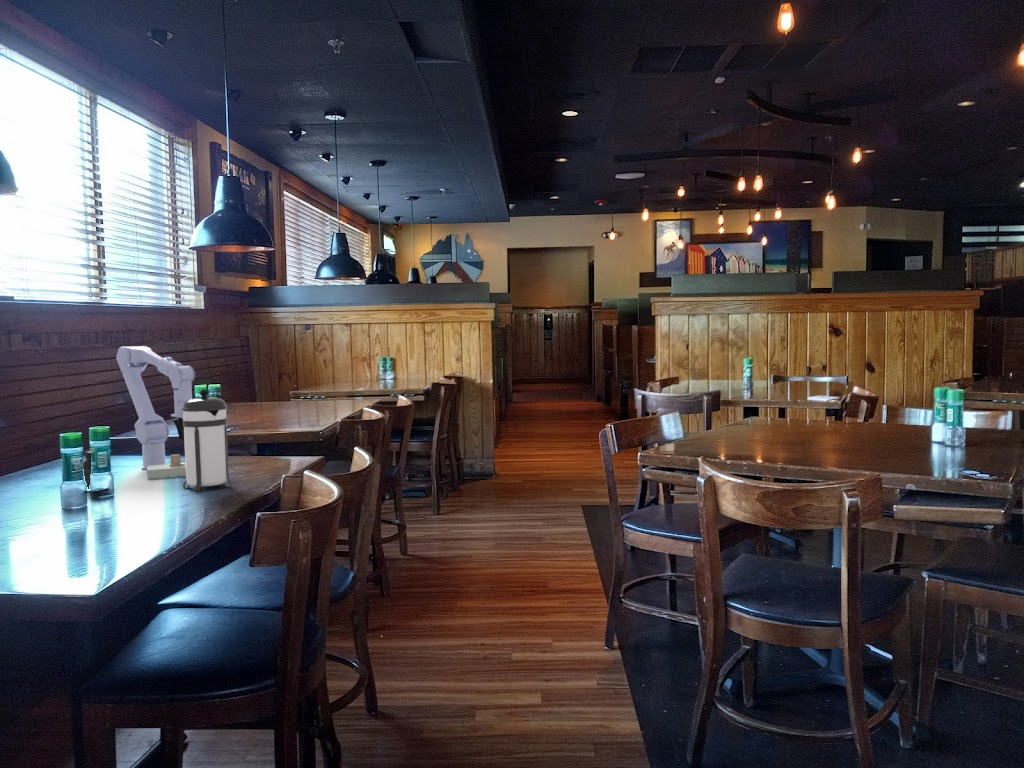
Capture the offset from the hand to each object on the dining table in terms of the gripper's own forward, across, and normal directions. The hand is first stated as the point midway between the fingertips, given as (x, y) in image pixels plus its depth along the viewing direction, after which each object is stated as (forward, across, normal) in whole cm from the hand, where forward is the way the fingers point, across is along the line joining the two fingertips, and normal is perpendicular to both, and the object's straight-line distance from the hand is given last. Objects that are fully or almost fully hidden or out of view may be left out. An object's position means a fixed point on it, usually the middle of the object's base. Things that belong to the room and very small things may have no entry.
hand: (185, 440), depth 260 cm
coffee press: (+11, +36, -1) cm, 38 cm away
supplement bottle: (+11, +19, -29) cm, 36 cm away
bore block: (+10, +6, -4) cm, 13 cm away
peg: (+10, +6, -4) cm, 13 cm away
